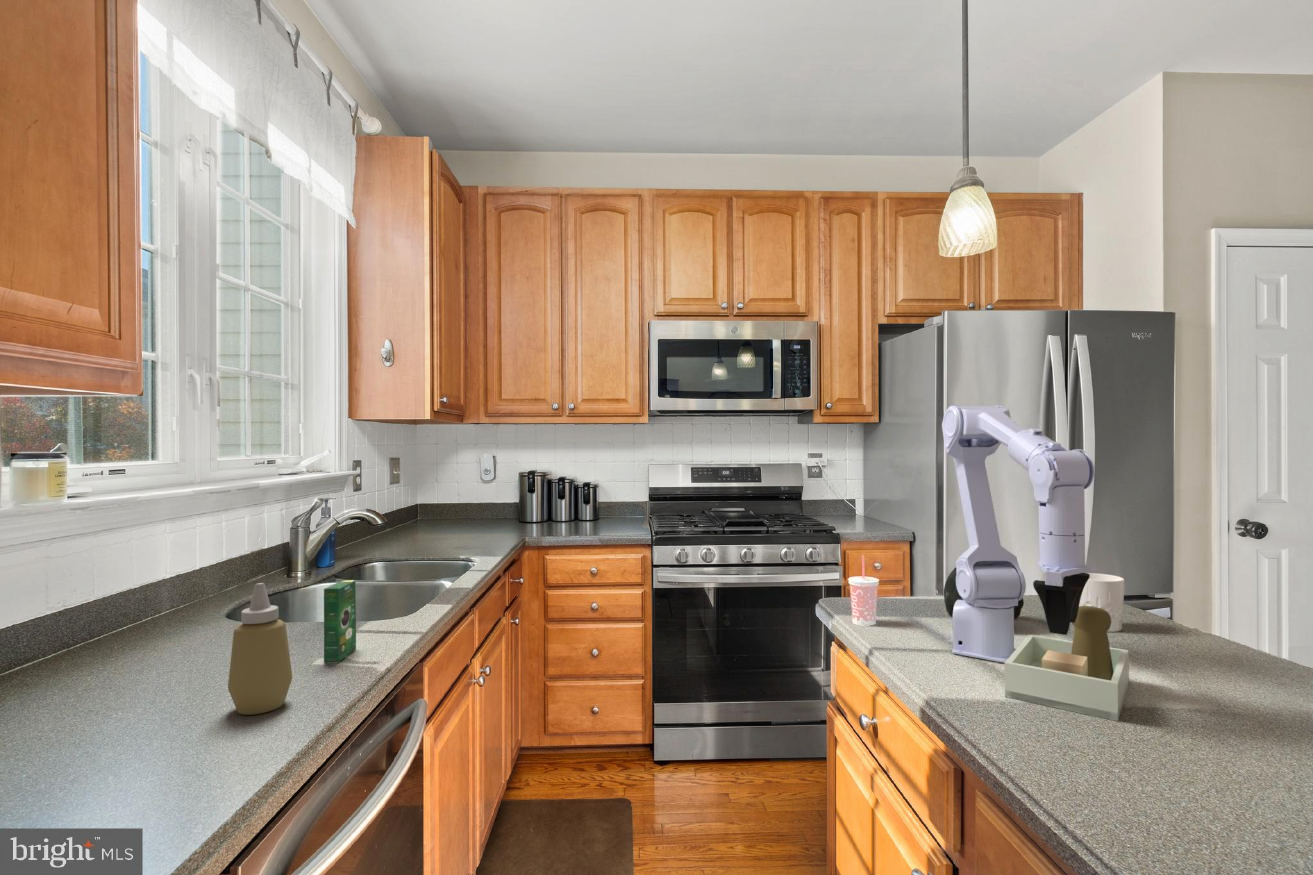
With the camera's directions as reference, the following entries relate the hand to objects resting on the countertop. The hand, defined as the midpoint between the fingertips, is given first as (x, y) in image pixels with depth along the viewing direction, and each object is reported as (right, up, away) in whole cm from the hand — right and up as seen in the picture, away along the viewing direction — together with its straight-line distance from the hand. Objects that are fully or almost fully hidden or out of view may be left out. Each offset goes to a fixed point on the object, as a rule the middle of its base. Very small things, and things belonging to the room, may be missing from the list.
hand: (1062, 627), depth 96 cm
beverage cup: (-16, -11, +41) cm, 45 cm away
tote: (+3, -10, +3) cm, 11 cm away
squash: (+8, -11, +39) cm, 41 cm away
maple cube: (0, -9, 0) cm, 9 cm away
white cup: (+29, -10, +35) cm, 47 cm away
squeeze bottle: (-116, -12, 0) cm, 117 cm away
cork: (+7, -10, +5) cm, 13 cm away
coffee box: (-116, -12, +23) cm, 119 cm away
